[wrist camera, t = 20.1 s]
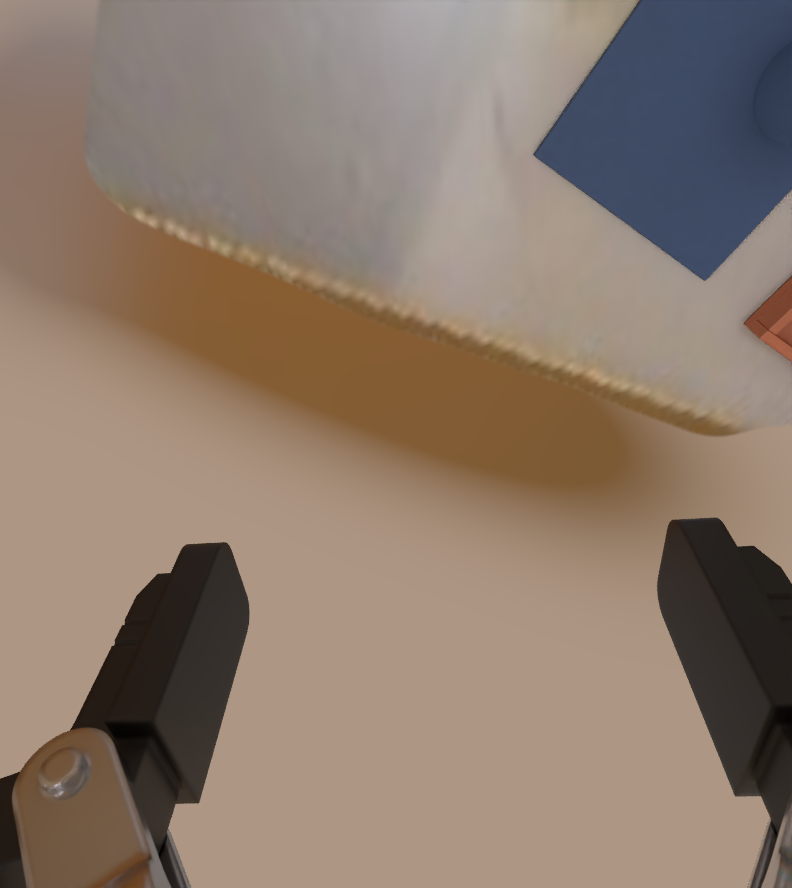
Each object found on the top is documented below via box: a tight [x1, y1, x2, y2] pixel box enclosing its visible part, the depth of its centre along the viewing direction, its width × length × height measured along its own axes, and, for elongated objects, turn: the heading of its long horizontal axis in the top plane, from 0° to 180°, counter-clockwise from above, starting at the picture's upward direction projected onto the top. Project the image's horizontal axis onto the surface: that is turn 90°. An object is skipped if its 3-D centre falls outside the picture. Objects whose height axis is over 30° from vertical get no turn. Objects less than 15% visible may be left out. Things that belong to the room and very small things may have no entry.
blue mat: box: [534, 0, 792, 281], centre depth 30 cm, size 12×12×1 cm
